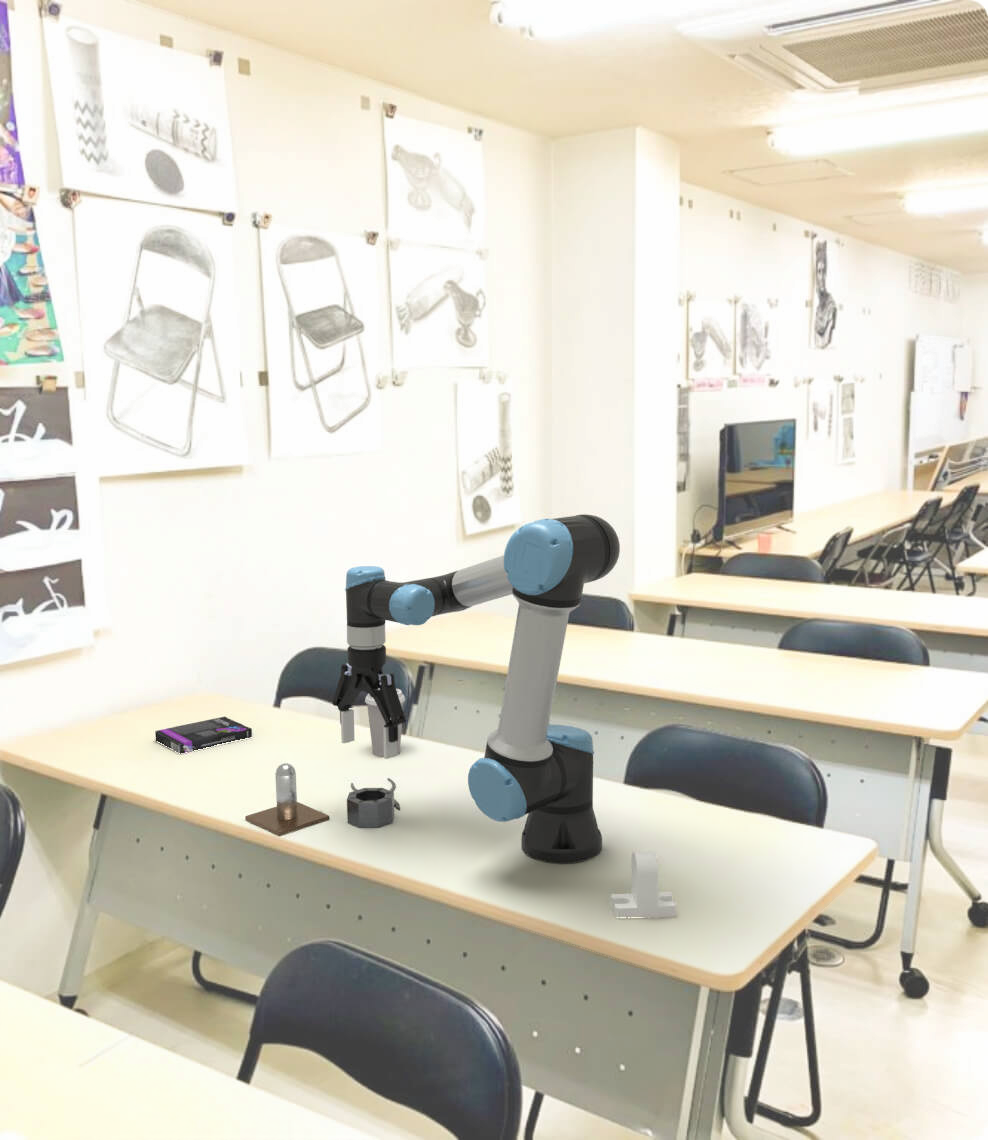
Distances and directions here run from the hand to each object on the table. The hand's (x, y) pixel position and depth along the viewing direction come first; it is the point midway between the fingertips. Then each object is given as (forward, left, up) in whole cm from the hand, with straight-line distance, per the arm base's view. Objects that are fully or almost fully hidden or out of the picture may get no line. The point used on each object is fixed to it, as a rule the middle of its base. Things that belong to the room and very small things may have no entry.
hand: (368, 749), depth 222 cm
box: (+72, -4, -15) cm, 74 cm away
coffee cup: (+31, -29, -15) cm, 45 cm away
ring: (0, 0, -15) cm, 15 cm away
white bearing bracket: (-64, -6, -15) cm, 66 cm away
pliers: (+9, -11, -15) cm, 21 cm away
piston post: (+12, +12, -15) cm, 22 cm away
